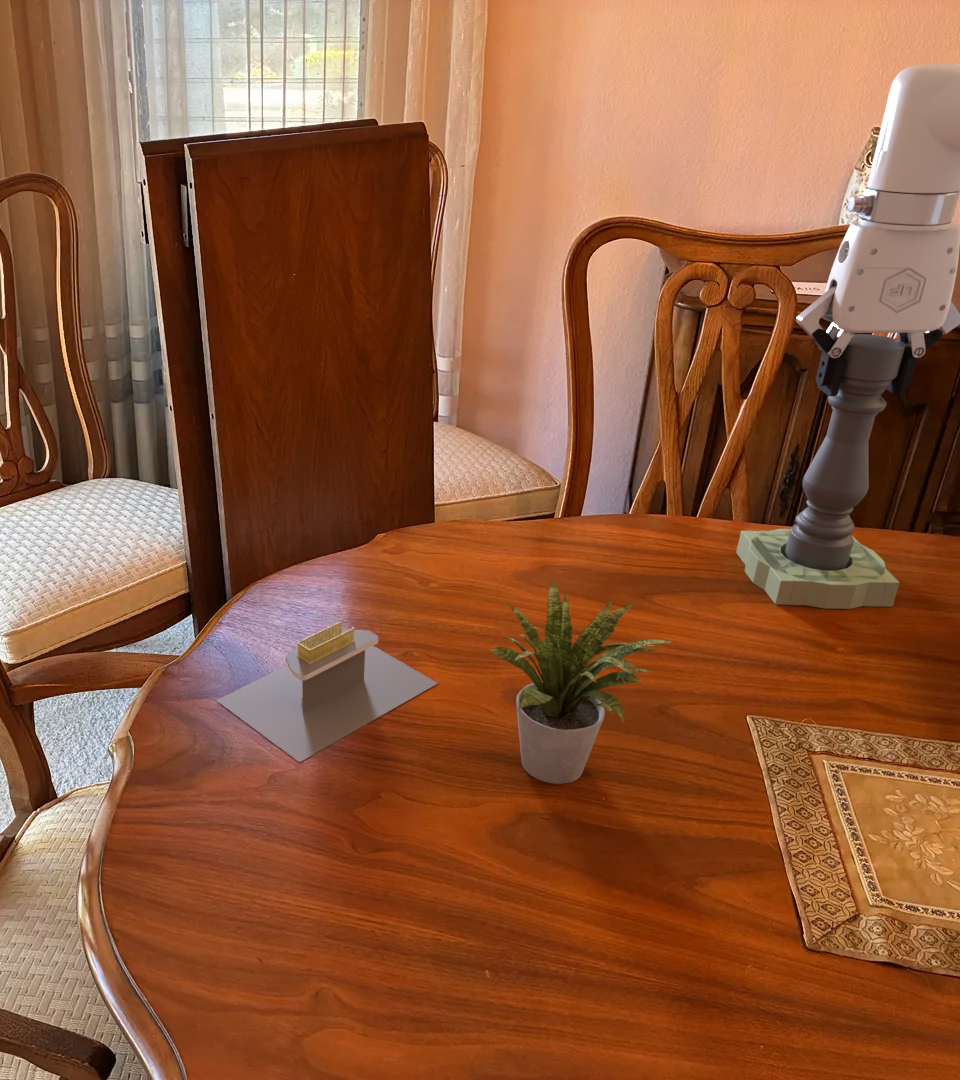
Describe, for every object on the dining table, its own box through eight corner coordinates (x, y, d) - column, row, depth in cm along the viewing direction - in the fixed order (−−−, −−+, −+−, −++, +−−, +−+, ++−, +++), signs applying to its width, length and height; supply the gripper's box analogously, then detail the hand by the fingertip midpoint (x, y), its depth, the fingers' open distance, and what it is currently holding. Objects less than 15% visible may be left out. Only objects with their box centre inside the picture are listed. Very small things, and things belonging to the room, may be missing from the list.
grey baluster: (847, 555, 112) (908, 337, 101) (845, 579, 108) (908, 353, 96) (786, 543, 115) (838, 330, 104) (781, 566, 110) (835, 346, 99)
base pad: (845, 551, 118) (851, 529, 116) (901, 610, 106) (909, 585, 105) (728, 550, 119) (733, 527, 118) (771, 607, 107) (777, 583, 106)
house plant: (595, 860, 76) (627, 683, 68) (436, 783, 84) (449, 618, 76) (664, 764, 85) (699, 599, 78) (515, 703, 93) (534, 549, 86)
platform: (216, 700, 95) (213, 642, 92) (351, 633, 105) (352, 579, 102) (299, 762, 87) (299, 701, 84) (438, 683, 97) (442, 625, 94)
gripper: (829, 217, 92) (786, 404, 100) (1028, 213, 90) (969, 404, 98) (795, 204, 98) (758, 381, 106) (981, 201, 97) (928, 380, 105)
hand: (860, 390), depth 102 cm, fingers closed on grey baluster, 5 cm apart
